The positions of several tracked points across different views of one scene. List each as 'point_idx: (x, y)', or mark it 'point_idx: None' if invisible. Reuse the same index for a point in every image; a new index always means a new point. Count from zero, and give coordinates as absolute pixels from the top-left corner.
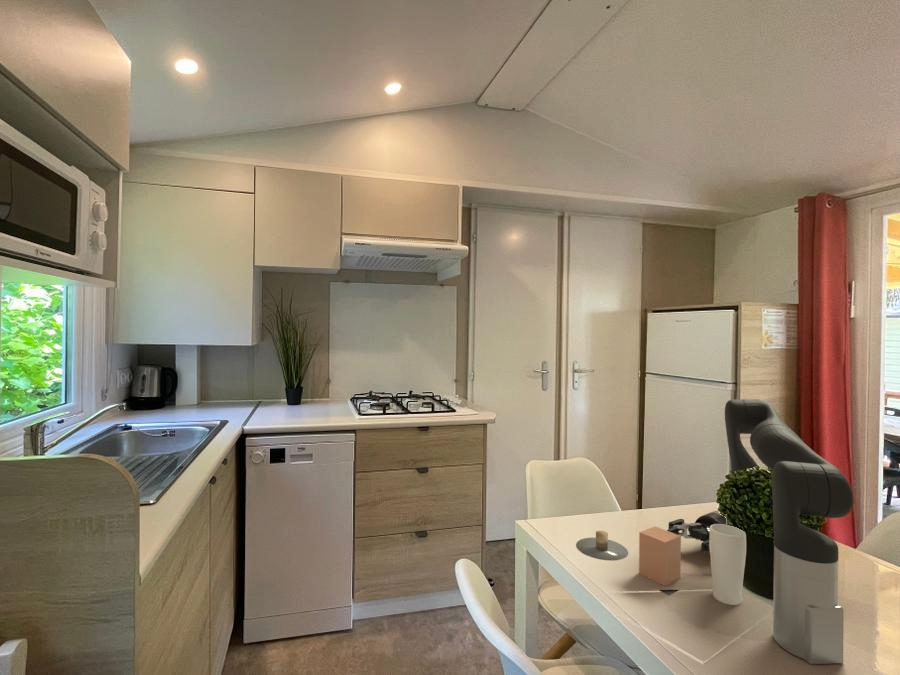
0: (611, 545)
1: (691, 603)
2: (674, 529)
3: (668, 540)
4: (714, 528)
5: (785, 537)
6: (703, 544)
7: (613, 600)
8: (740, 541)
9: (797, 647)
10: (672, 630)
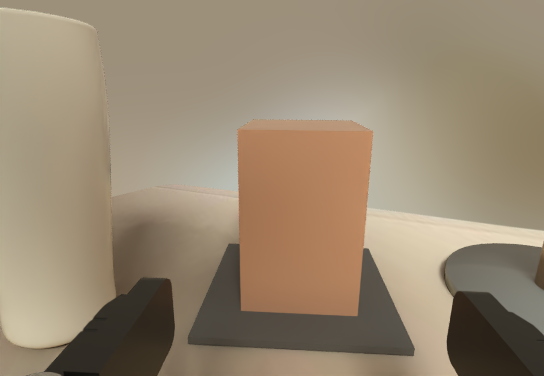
0: None
1: (174, 257)
2: (501, 339)
3: (253, 121)
4: (72, 41)
5: None
6: (154, 278)
7: None
8: None
9: None
10: (187, 205)
